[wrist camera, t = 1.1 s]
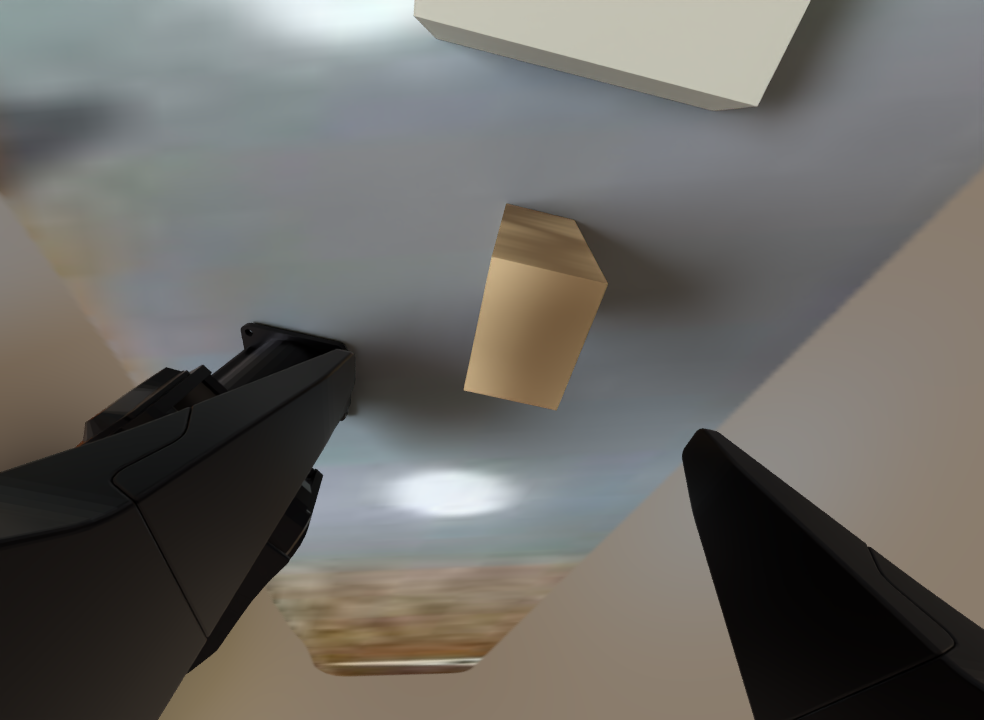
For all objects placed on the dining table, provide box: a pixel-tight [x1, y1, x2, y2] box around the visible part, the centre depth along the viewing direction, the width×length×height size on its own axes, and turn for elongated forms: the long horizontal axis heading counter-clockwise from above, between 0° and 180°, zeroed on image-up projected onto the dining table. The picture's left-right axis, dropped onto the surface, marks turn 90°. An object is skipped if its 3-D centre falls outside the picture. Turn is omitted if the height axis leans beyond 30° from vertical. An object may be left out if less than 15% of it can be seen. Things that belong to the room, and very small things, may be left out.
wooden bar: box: [464, 204, 608, 410], centre depth 16 cm, size 4×5×9 cm
